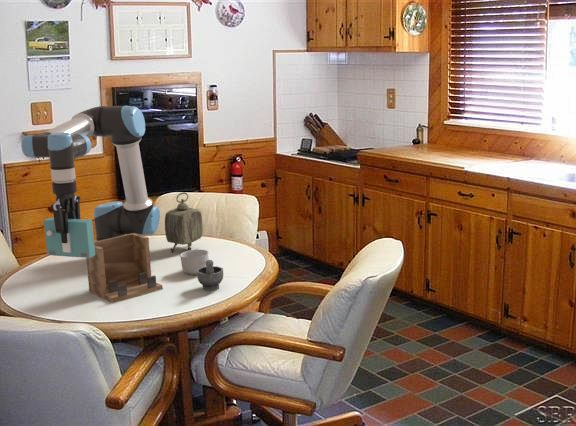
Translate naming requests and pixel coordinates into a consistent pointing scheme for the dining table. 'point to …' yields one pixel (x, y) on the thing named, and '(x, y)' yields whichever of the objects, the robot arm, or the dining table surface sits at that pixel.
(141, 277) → the cabinet
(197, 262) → the teacup
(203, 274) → the mortar and pestle
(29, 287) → the dining table surface
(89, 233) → the door
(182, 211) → the tabletop clock
